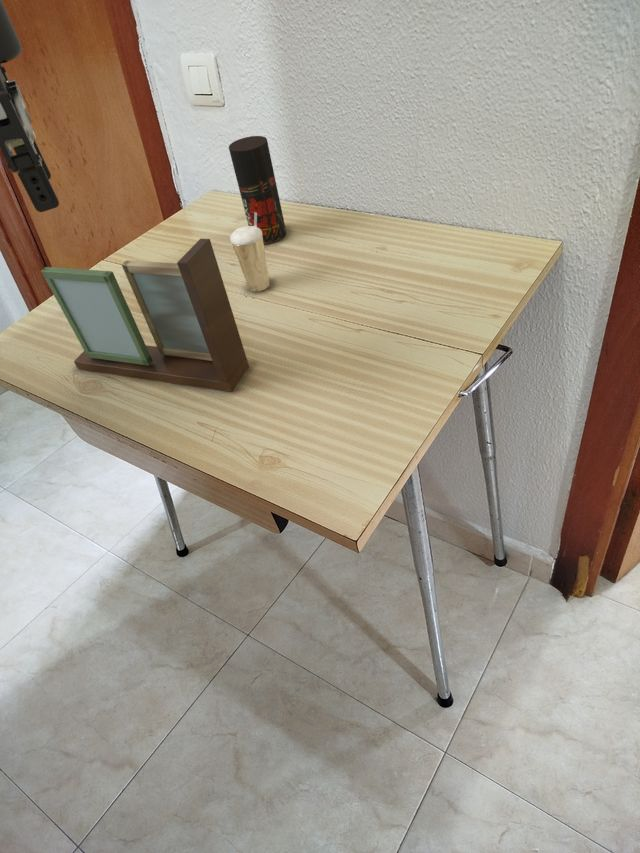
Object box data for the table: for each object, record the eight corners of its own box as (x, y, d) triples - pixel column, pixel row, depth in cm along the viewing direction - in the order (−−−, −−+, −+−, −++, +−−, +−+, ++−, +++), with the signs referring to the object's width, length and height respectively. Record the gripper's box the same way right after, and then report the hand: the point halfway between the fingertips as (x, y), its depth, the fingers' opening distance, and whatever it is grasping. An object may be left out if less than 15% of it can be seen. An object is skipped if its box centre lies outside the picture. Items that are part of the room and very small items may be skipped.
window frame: (78, 369, 80) (11, 252, 68) (99, 347, 83) (39, 231, 71) (231, 392, 71) (186, 263, 59) (249, 366, 74) (210, 238, 62)
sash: (87, 357, 78) (40, 271, 69) (92, 352, 79) (45, 266, 70) (149, 365, 75) (107, 275, 66) (153, 361, 75) (112, 271, 66)
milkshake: (283, 277, 89) (268, 214, 82) (262, 296, 86) (246, 232, 79) (259, 273, 91) (243, 211, 84) (238, 291, 88) (220, 228, 81)
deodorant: (244, 240, 99) (220, 148, 89) (268, 224, 102) (247, 134, 92) (270, 247, 96) (248, 153, 86) (293, 230, 99) (275, 137, 89)
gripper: (-92, 1, 52) (5, 184, 63) (-108, 20, 42) (10, 232, 53) (-6, -20, 53) (74, 162, 64) (-2, -6, 43) (91, 206, 55)
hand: (45, 194), depth 59 cm, fingers open, 8 cm apart
